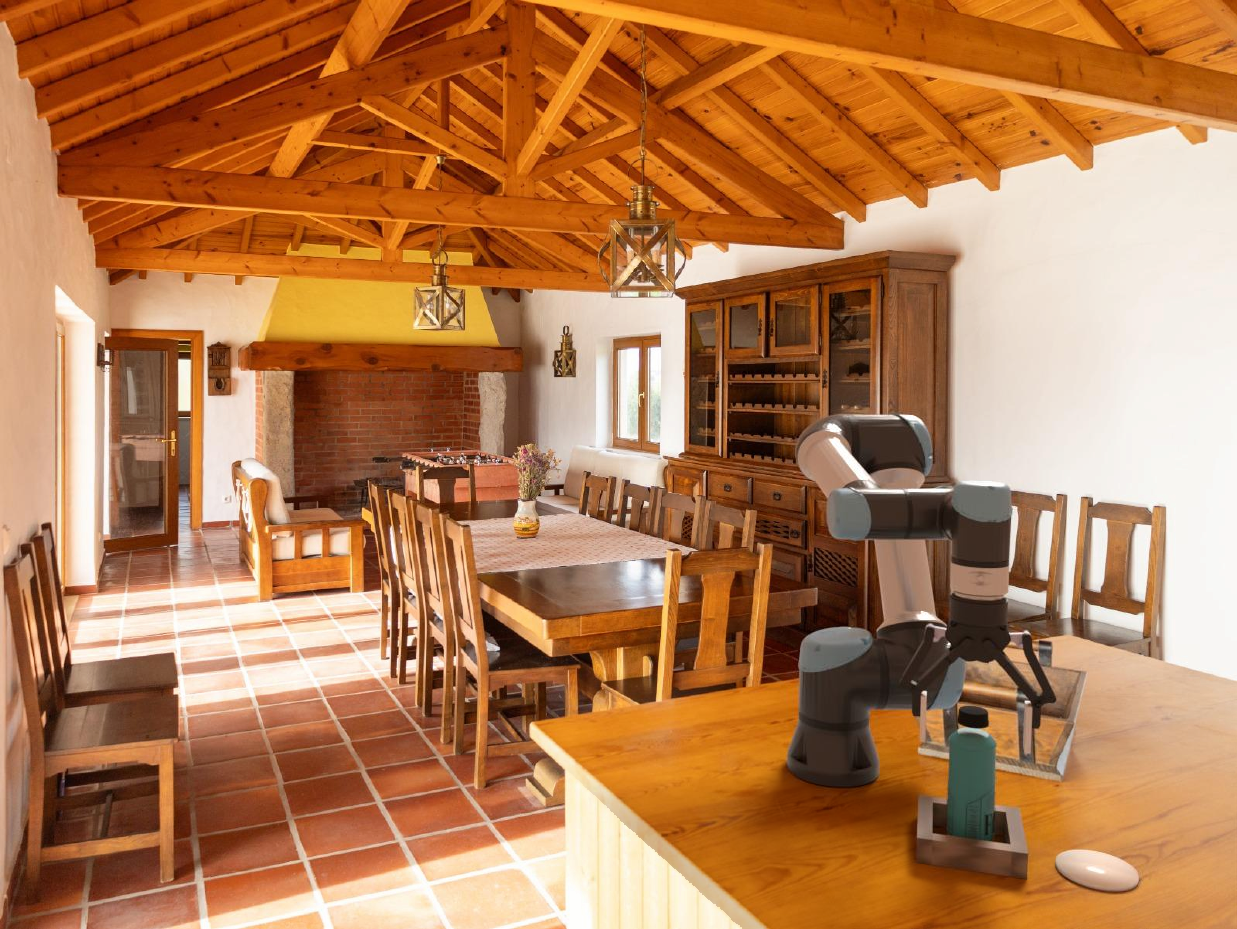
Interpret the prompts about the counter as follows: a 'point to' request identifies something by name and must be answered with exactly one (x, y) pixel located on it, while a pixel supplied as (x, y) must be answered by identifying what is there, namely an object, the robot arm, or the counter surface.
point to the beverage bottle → (971, 777)
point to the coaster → (1097, 870)
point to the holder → (972, 842)
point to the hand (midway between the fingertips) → (973, 744)
